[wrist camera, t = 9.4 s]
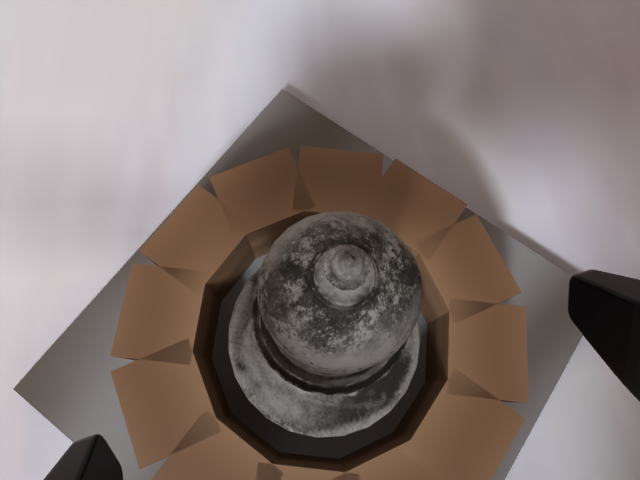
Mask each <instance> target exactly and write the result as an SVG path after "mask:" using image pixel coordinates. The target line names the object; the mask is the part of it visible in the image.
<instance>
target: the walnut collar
mask: <svg viewBox="0 0 640 480" xmlns="http://www.w3.org/2000/svg"><path fill="white" fill-rule="evenodd" d="M466 206H467V204H465V203H464V202H462V201H461V200H459V199H457V198H456V197H454V196H453V195H451V194H450V193H448V192H447V191H445V190H444V189H442V188H440V187H439V186H437V185H436V184H434V183H433V182H431V181H430V180H428V179H426V178H425V177H423V176H422V175H420V174H419V173H417V172H416V171H414V170H412V169H411V168H409V167H408V166H406V165H405V164H403V163H402V162H400V161H398V160H397V159H395V160H394V161H393V160H391V159H390V158H388V157H387V156H385V155H384V154H382V153H381V152H379V151H377V150H376V149H374V148H373V147H371V146H370V145H368V144H367V143H365V142H364V141H362V140H360V139H359V138H357V137H356V136H354V135H353V134H351V133H350V132H348V131H346V130H345V129H343V128H342V127H340V126H339V125H337V124H336V123H334V122H332V121H331V120H329V119H328V118H326V117H325V116H323V115H322V114H320V113H319V112H317V111H315V110H314V109H312V108H311V107H309V106H308V105H306V104H305V103H303V102H301V101H300V100H298V99H297V98H295V97H294V96H292V95H291V94H289V93H288V92H286V91H284V90H283V89H282V90H281V91H280V92H279V93H278V95H277V96H276V97H275V98H274V99H273V100H272V101H271V102H270V103H269V105H268V106H267V107H266V108H265V109H264V110H263V111H262V112H261V113H260V115H259V116H258V117H257V118H256V119H255V120H254V121H253V122H252V124H251V125H250V126H249V127H248V128H247V129H246V130H245V131H244V132H243V134H242V135H241V136H240V137H239V138H238V139H237V140H236V141H235V142H234V144H233V145H232V146H231V147H230V148H229V149H228V150H227V151H226V152H225V154H224V155H223V156H222V157H221V158H220V159H219V160H218V161H217V163H216V164H215V165H214V166H213V167H212V168H211V169H210V170H209V171H208V173H207V174H206V175H205V176H204V177H203V178H202V179H201V180H200V181H199V183H198V184H197V185H196V186H195V187H194V188H193V189H192V190H191V191H190V193H189V194H188V195H187V196H186V197H185V198H184V199H183V200H182V201H181V203H180V204H179V205H178V206H177V207H176V208H175V209H174V210H173V212H172V213H171V214H170V215H169V216H168V217H167V218H166V219H165V220H164V222H163V223H162V224H161V225H160V226H159V227H158V228H157V229H156V230H155V232H154V233H153V234H152V235H151V236H150V237H149V238H148V239H147V240H146V242H145V243H144V244H143V245H142V246H141V247H140V248H139V249H138V251H137V252H136V253H135V254H134V255H133V256H132V257H131V258H130V259H129V261H128V262H127V263H126V264H125V265H124V266H123V267H122V268H121V269H120V271H119V272H118V273H117V274H116V275H115V276H114V277H113V278H112V279H111V281H110V282H109V283H108V284H107V285H106V286H105V287H104V288H103V289H102V291H101V292H100V293H99V294H98V295H97V296H96V297H95V298H94V300H93V301H92V302H91V303H90V304H89V305H88V306H87V307H86V308H85V310H84V311H83V312H82V313H81V314H80V315H79V316H78V317H77V318H76V320H75V321H74V322H73V323H72V324H71V325H70V326H69V327H68V328H67V330H66V331H65V332H64V333H63V334H62V335H61V336H60V337H59V338H58V340H57V341H56V342H55V343H54V344H53V345H52V346H51V347H50V349H49V350H48V351H47V352H46V353H45V354H44V355H43V356H42V357H41V359H40V360H39V361H38V362H37V363H36V364H35V365H34V366H33V367H32V369H31V370H30V371H29V372H28V373H27V374H26V375H25V376H24V377H23V379H22V380H21V381H20V382H19V383H18V384H17V385H16V386H15V388H14V390H15V391H16V392H17V393H18V394H20V395H21V396H22V397H23V398H24V399H25V400H26V401H27V402H29V403H30V404H31V405H32V406H33V407H34V408H35V409H36V410H38V411H39V412H40V413H41V414H42V415H43V416H44V417H45V418H47V419H48V420H49V421H50V422H51V423H52V424H53V425H55V426H56V427H57V428H58V429H59V430H60V431H61V432H62V433H64V434H65V435H66V436H67V437H68V438H69V439H70V440H71V441H73V442H75V441H77V440H80V439H83V438H86V437H89V436H92V435H95V434H100V435H101V436H103V437H104V439H105V440H106V442H107V443H108V445H109V446H110V448H111V450H112V451H113V453H114V454H115V456H116V458H117V459H118V461H119V463H120V465H121V467H122V471H123V480H505V478H506V476H507V474H508V472H509V470H510V469H511V467H512V465H513V463H514V461H515V459H516V458H517V456H518V454H519V452H520V450H521V448H522V446H523V445H524V443H525V441H526V439H527V437H528V435H529V434H530V432H531V430H532V428H533V426H534V424H535V422H536V421H537V419H538V417H539V415H540V413H541V411H542V410H543V408H544V406H545V404H546V402H547V400H548V399H549V397H550V395H551V393H552V391H553V389H554V387H555V386H556V384H557V382H558V380H559V378H560V376H561V375H562V373H563V371H564V369H565V367H566V365H567V364H568V362H569V360H570V358H571V356H572V354H573V352H574V351H575V349H576V347H577V345H578V343H579V341H580V340H581V338H582V336H583V334H582V333H581V332H580V331H579V329H578V328H577V327H576V326H575V324H574V323H573V322H572V320H571V318H570V316H569V313H568V293H569V280H570V278H571V277H572V276H571V275H570V274H568V273H567V272H565V271H564V270H562V269H560V268H559V267H557V266H556V265H554V264H553V263H551V262H550V261H548V260H547V259H545V258H543V257H542V256H540V255H539V254H537V253H536V252H534V251H533V250H531V249H529V248H528V247H526V246H525V245H523V244H522V243H520V242H519V241H517V240H515V239H514V238H512V237H511V236H509V235H508V234H506V233H505V232H503V231H502V230H500V229H498V228H497V227H495V226H494V225H492V224H491V223H489V222H488V221H486V220H484V219H483V218H481V217H480V216H478V215H477V214H475V213H474V212H472V211H471V210H469V209H467V208H466ZM334 211H348V212H353V213H358V214H363V215H367V216H369V217H371V218H373V219H375V220H377V221H379V222H382V223H384V224H385V225H386V226H388V227H389V228H390V229H391V230H393V231H394V232H395V233H396V234H398V235H399V236H400V237H401V238H402V240H403V241H404V242H405V244H406V245H407V246H408V248H409V249H410V250H411V252H412V253H413V255H414V258H415V260H416V263H417V265H418V268H419V270H420V274H421V282H422V290H423V294H422V301H421V308H420V315H419V318H418V327H419V335H420V347H419V354H418V361H417V368H416V370H415V372H414V375H413V377H412V379H411V382H410V384H409V386H408V389H407V391H406V392H405V394H404V395H403V396H402V397H401V399H400V400H399V401H398V402H397V404H396V405H395V406H394V407H393V409H392V410H391V411H390V412H389V413H388V414H386V415H385V416H383V417H382V418H381V419H379V420H378V421H376V422H375V423H374V424H372V425H371V426H369V427H367V428H365V429H362V430H359V431H356V432H353V433H350V434H348V435H345V436H335V437H318V438H317V437H312V436H308V435H303V434H299V433H295V432H290V431H289V430H287V429H285V428H283V427H281V426H280V425H278V424H276V423H274V422H272V421H271V420H269V419H267V418H266V417H265V416H264V415H263V414H262V413H261V412H260V411H259V410H258V409H257V408H256V407H255V406H254V405H253V404H252V403H251V402H250V401H249V400H248V399H247V397H246V395H245V393H244V392H243V390H242V388H241V386H240V385H239V383H238V381H237V379H236V378H235V375H234V371H233V367H232V363H231V359H230V355H229V323H230V319H231V316H232V312H233V308H234V305H235V301H236V300H237V298H238V296H239V294H240V293H241V291H242V289H243V287H244V286H245V284H246V282H247V280H248V279H249V278H250V277H251V276H252V275H253V274H254V273H255V272H256V271H257V270H258V269H259V268H260V267H261V266H262V262H263V260H264V258H265V257H266V255H267V253H268V252H269V250H270V248H271V246H272V245H273V243H274V242H275V240H276V239H277V238H279V237H280V236H281V235H282V234H283V233H284V232H285V231H286V230H287V229H288V228H289V227H290V226H292V225H294V224H295V223H297V222H299V221H301V220H302V219H304V218H306V217H309V216H313V215H316V214H320V213H323V212H334Z"/></svg>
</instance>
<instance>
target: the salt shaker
mask: <svg viewBox="0 0 640 480" xmlns="http://www.w3.org/2000/svg"><path fill="white" fill-rule="evenodd" d="M422 294H423V290H422V282H421V274H420V270H419V268H418V265H417V263H416V260H415V258H414V255H413V253H412V252H411V250H410V249H409V248H408V246H407V245H406V244H405V242H404V241H403V240H402V238H401V237H400V236H399V235H398V234H396V233H395V232H394V231H393V230H391V229H390V228H389V227H388V226H386V225H385V224H384V223H382V222H379V221H377V220H375V219H373V218H371V217H369V216H367V215H363V214H358V213H353V212H348V211H334V212H323V213H320V214H316V215H313V216H309V217H306V218H304V219H302V220H301V221H299V222H297V223H295V224H294V225H292V226H290V227H289V228H288V229H287V230H286V231H285V232H284V233H283V234H282V235H281V236H280V237H279V238H277V239H276V240H275V242H274V243H273V245H272V246H271V248H270V250H269V252H268V253H267V255H266V257H265V258H264V260H263V262H262V266H261V267H260V268H259V269H258V270H257V271H256V272H255V273H254V274H253V275H252V276H251V277H250V278H249V279H248V280H247V282H246V284H245V286H244V287H243V289H242V291H241V293H240V294H239V296H238V298H237V300H236V301H235V305H234V308H233V312H232V316H231V319H230V323H229V355H230V359H231V363H232V367H233V371H234V375H235V378H236V379H237V381H238V383H239V385H240V386H241V388H242V390H243V392H244V393H245V395H246V397H247V399H248V400H249V401H250V402H251V403H252V404H253V405H254V406H255V407H256V408H257V409H258V410H259V411H260V412H261V413H262V414H263V415H264V416H265V417H266V418H267V419H269V420H271V421H272V422H274V423H276V424H278V425H280V426H281V427H283V428H285V429H287V430H289V431H290V432H295V433H299V434H303V435H308V436H312V437H317V438H318V437H335V436H345V435H348V434H350V433H353V432H356V431H359V430H362V429H365V428H367V427H369V426H371V425H372V424H374V423H375V422H376V421H378V420H379V419H381V418H382V417H383V416H385V415H386V414H388V413H389V412H390V411H391V410H392V409H393V407H394V406H395V405H396V404H397V402H398V401H399V400H400V399H401V397H402V396H403V395H404V394H405V392H406V391H407V389H408V386H409V384H410V382H411V379H412V377H413V375H414V372H415V370H416V368H417V361H418V354H419V347H420V335H419V327H418V318H419V315H420V308H421V301H422Z"/></svg>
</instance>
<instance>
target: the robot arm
mask: <svg viewBox="0 0 640 480" xmlns="http://www.w3.org/2000/svg"><path fill="white" fill-rule="evenodd" d="M568 313H569V316H570V318H571V320H572V322H573V323H574V324H575V326H576V327H577V328H578V329H579V331H580V332H581V333H582V334H583V336H584V337H585V338H586V339H587V341H588V342H589V343H590V344H591V345H592V347H593V348H594V349H595V350H596V352H597V353H598V354H599V355H600V357H601V358H602V359H603V360H604V362H605V363H606V364H607V365H608V366H609V368H610V369H611V370H612V371H613V373H614V374H615V375H616V376H617V377H618V379H619V380H620V381H621V382H622V383H623V384H624V385H625V387H626V388H627V389H628V390H629V391H630V392H631V393H632V394H633V395H634V396H635V397H636V398H637V399H638V400H639V401H640V280H638V279H633V278H629V277H624V276H620V275H616V274H611V273H607V272H602V271H598V270H587V271H584V272H581V273H578V274H575V275H573V276H572V277H571V278H570V280H569V293H568ZM44 480H123V471H122V467H121V465H120V463H119V461H118V459H117V458H116V456H115V454H114V453H113V451H112V450H111V448H110V446H109V445H108V443H107V442H106V440H105V439H104V437H103V436H101V435H100V434H95V435H92V436H89V437H86V438H83V439H80V440H77V441H75V442H74V443H73V444H72V445H71V446H70V447H69V448H68V450H67V451H66V452H65V453H64V455H63V456H62V457H61V458H60V460H59V461H58V462H57V464H56V465H55V466H54V467H53V469H52V470H51V471H50V472H49V474H48V475H47V476H46V477H45V479H44Z"/></svg>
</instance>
